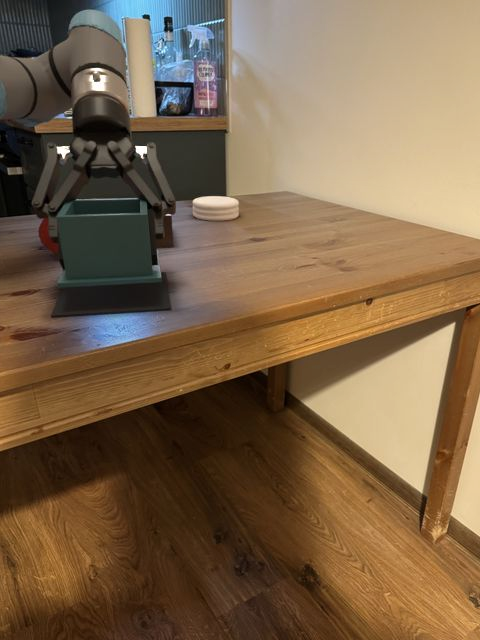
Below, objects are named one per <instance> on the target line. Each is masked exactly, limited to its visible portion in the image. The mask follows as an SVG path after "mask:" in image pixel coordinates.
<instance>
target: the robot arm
mask: <svg viewBox="0 0 480 640" xmlns="http://www.w3.org/2000/svg"><path fill="white" fill-rule="evenodd" d="M124 42H125V41H124V37H123V33H122V30H121V28H120V26H119V24H118V23H117V21H116V20H114V19H113V17H111V16H110V15H109V14H107V13H105V12H103V11H100V10H97V9H84V10H81V11H79V12H76V13H75V15H73V16H72V18H71V20H70V22H69V25H68V32H67V39H66V40H64V41H62V42H59V43H58V44H56V45H55V46H54V47H52V48H50V49H49V50H48V51H47V50H46V51H45V52H44V53H42V54H40V55H38V56H36V57H34V58H33V57H32V58H25V57H17V56H16V57H14V56H8V55H0V121H2V120H14V121H15V122H16V123H19V124H22V126H24V127H27V128H33V127H37V126H39V125H41V124H44V123H49V122H51V121H52V120H53V119H54V118H57V117H58V116H59V115H62V114H63V113H66V112H68V111H69V110H71V118H72V119H71V125H72V140H71V142H70V143H69V145H66V146H64V145H63V146H57V144H56V143H55V142H54V141H50V142H48V143H46V154H47V158H46V161H45V163H44V166H43V169H42V172H41V175H40V178H39V181H38V183H37V186H36V189H35V192H34V194H33V197H32V200H31V207H32V209H33V211H34V213H35V215H36V218H38V219H41V220H43V219H44V218H47V219H48V229H49V230H48V231H49V236H50V238H51V240H52V242H53V243H58V255H57V260H58V262H59V265H60V267H61V269H62V270H65V266H64V260H63V254H62V248H61V243H60V237H59V231H58V225H57V219H56V216H57V215H58V213H59V212H60V210H61V209H62V207H63V206H64V204H65V203H67V202H70V201H73V200H75V199H77V197H78V196H79V195H80V194H81V191H82V190H83V188H84V187H85V186H87V185H88V184H89V183H90V181H91V180H92V178H93V179H102V178H110V179H119V177H120V179H122V181H123V182H124V183H125V184H126V185H128V187H129V188H130V189H131V191H132V192H133V193H134V194H135V195H136V198H139V199H142V200H144V201H146V202H147V212H148V224H149V236H150V248H151V259H152V266H154V265H158V257H157V250H158V248H157V246H156V239H164V236H165V234H164V221H163V218H164V216H165V215H168V214H169V215H172V216H173V215H175V214H176V213H177V200H176V197H175V194H174V193H173V190H172V188H171V186H170V184H169V181H168V179H167V178H166V174H165V173H164V171H163V169H162V167H161V164H160V162H159V160H158V157H157V144H156V143H155V142H152V141H149V142H147V144H146V146H140V145H139V146H138V145H136V144H135V143H134V141H133V136H132V125H131V115H130V113H131V112H130V110H131V109H130V99H129V89H128V84H127V51H126V50H125V43H124ZM69 158H71V159H72V160H73V161H74V163H73V166H72V169H71V171H70V172H69V174H68V175H67V177H66V178H65V179H64V181H63V182H62V184H61V186H60V187H59V189H58V190H57V191H56V189H57V185H58V182H59V180H60V177H61V174H62V167H65V166H66V163H67V160H68V159H69ZM136 158H139V160H140V161H141V163H142V164H143V165H144V166H147V170H148V173H149V175H150V179H151V180H152V182H153V184H154V187H155V190H157V193H158V195H159V198H160V200H159V198H158V197H157V196H156V194H155V193H154V192H153V191H152V190H151V188H150V187H149V186H148V184H147V183H146V182H145V181H144V179H143V178H142V177H141V175H140V174H139V173H138V171H136V169H135V168H134V165H133V164H132V163H133V162H134V161H135V159H136ZM55 192H56V193H55Z"/></svg>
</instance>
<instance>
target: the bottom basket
mask: <svg viewBox="0 0 480 640" xmlns="http://www.w3.org/2000/svg"><path fill="white" fill-rule="evenodd" d="M172 217H173V215H169V214H168V215H165V216H164V218H163V221H164V234H165V236H164V239H156V246H157V249H169V248H170V249H171V248H172V249H173V248H174V231H173V218H172Z"/></svg>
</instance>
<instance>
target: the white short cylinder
mask: <svg viewBox="0 0 480 640" xmlns="http://www.w3.org/2000/svg"><path fill="white" fill-rule="evenodd" d="M239 205H240V202H239V200H238V199H236V198H233V197H229V196H224V195H223V196H221V195H220V196H219V195H209V196H200V197H197V198H194V199H193V200H192V217H194V218H195V219H197V220H201V221H209V222H225V221H232V220H234V219H237V218H238V217H239V215H240V213H239V210H240V208H239V207H240V206H239Z"/></svg>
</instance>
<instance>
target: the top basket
mask: <svg viewBox="0 0 480 640" xmlns="http://www.w3.org/2000/svg"><path fill="white" fill-rule="evenodd" d="M56 219H57V225H58V231H59V237H60V243H61V248H62V254H63V260H64V266H65V270H63V269H62V270H61V271H60V272H61V273H60V274H59V277H58V279H57V282H56V286H57V289H61V288H64V287H82V286H100V285H118V284H136V283H154V282H162V278H161V272H162V271H161V263H160V262H161V261H160V254H159V249H157V257H158V265H154V266H152V259H151V248H150V236H149V224H148V212H147V202H146V201H144V200H142V199H139V198H138V197H128V198H126V197H125V198H85V199H84V198H82V199H81V198H79V199H77V198H76V199H75V200H73V201H70V202H67V203H65V204H64V206H63V207H62V209H61V210H60V212H59V213H58V215H57V216H56Z"/></svg>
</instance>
